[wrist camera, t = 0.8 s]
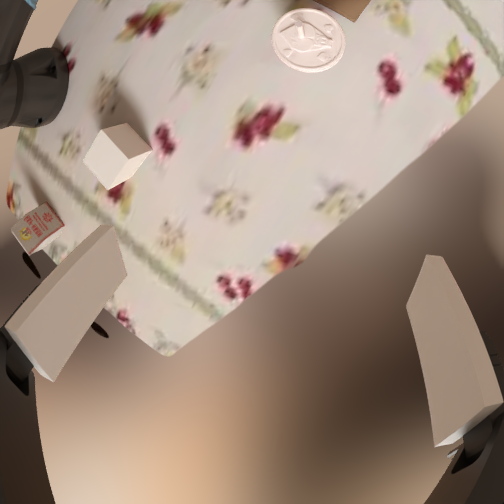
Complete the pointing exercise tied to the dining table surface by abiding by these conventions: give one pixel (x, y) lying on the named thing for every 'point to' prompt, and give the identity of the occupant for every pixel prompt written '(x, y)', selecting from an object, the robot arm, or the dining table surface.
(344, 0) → the walnut board
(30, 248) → the small printed carton
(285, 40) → the smoothie
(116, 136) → the off-white cube
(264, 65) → the dining table surface
